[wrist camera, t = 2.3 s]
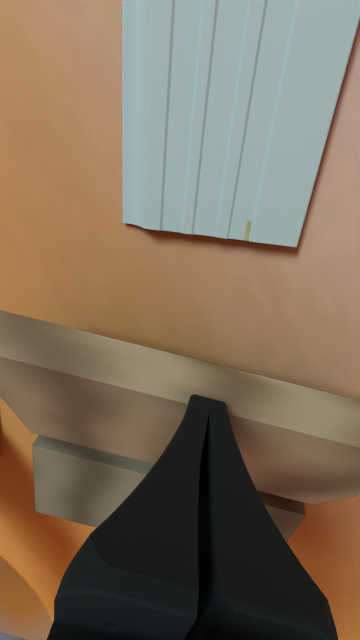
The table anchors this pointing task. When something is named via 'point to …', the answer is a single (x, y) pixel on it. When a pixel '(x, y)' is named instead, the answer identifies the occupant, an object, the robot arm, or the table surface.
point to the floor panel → (110, 485)
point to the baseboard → (229, 112)
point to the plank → (176, 407)
